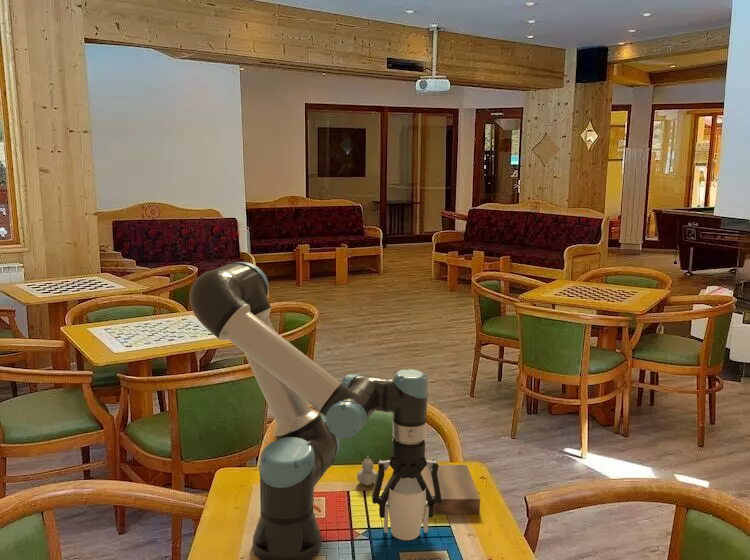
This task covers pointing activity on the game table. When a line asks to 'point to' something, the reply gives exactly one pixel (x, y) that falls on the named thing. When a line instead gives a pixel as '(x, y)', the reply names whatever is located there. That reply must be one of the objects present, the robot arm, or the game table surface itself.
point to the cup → (406, 508)
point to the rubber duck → (367, 472)
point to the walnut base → (454, 490)
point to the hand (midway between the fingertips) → (405, 529)
